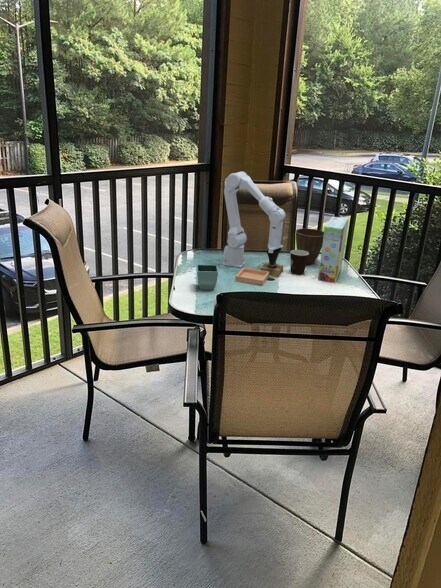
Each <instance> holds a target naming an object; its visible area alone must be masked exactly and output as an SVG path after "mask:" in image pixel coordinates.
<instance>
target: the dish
mask: <svg viewBox="0 0 441 588" xmlns="http://www.w3.org/2000/svg"><path fill="white" fill-rule="evenodd" d="M269 274H270V272H268V271H262V270H261V269H256V268H250V267H242V268H241V270H239V272H238V273H237V274H235V277H234V282H240V283H245V284H252V285H255V286H257V285H258V286H263V285H264V284H265V283H266V282H267V280H268V279H269V278H270V275H269Z"/></svg>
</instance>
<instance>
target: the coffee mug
mask: <svg viewBox="0 0 441 588" xmlns="http://www.w3.org/2000/svg"><path fill="white" fill-rule="evenodd" d="M289 253H290V254H289V255H290V257H289V259H290V262H289V264H290V265H289V266H290V268H289V269H290V273H291V274H292V275H295V276H302V275H304V274H305V271H306V270H305V269H306V266H307V265H306V263H307V259H308V255H309V253H308V252H306V251H303V250H297V249H293V250H291V251H290V252H289Z"/></svg>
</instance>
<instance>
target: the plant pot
mask: <svg viewBox="0 0 441 588" xmlns="http://www.w3.org/2000/svg"><path fill="white" fill-rule="evenodd" d="M323 237H324V230H320V229H315V228H298V229H296V230H295V243H296V250H303V251H306V252H308V253H309V255H308V259H307V263H306V266H307V265H308V266H311V265H315V263H316V262H317V261H316V260H317V259H318V256H319V255H320V253H321V252H322V245H323Z"/></svg>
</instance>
